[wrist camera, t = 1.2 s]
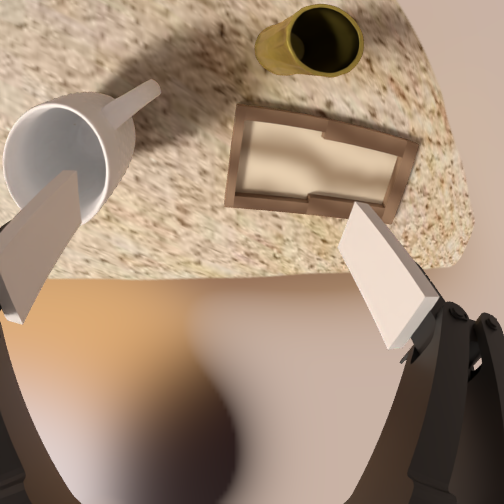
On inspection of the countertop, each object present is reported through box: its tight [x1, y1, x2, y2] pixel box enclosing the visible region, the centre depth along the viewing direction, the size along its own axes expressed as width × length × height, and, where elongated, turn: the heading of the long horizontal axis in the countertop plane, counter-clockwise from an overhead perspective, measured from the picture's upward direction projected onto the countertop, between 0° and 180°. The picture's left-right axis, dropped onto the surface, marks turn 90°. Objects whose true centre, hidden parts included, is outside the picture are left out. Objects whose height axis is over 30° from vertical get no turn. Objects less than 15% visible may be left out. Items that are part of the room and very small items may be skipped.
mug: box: [3, 79, 161, 226], centre depth 23 cm, size 15×11×13 cm
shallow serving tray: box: [224, 104, 419, 224], centre depth 34 cm, size 12×23×2 cm, turn 82°
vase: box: [255, 4, 364, 77], centre depth 20 cm, size 6×6×14 cm
